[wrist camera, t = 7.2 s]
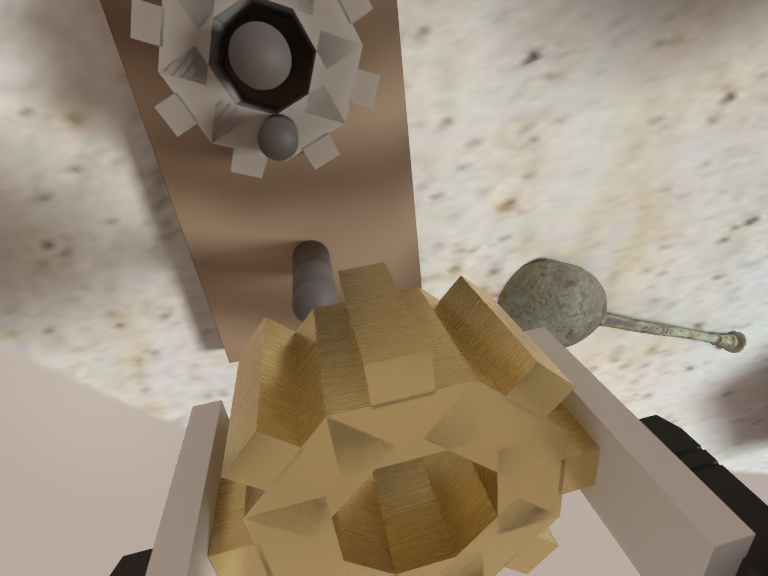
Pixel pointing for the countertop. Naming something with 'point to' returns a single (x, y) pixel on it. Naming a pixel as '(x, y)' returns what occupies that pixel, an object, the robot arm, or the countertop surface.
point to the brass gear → (396, 440)
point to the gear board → (276, 146)
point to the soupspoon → (580, 307)
